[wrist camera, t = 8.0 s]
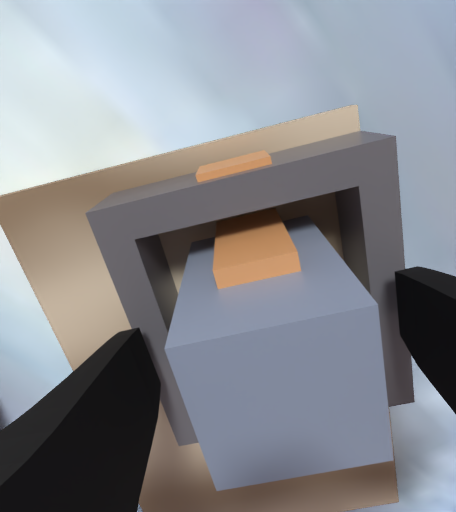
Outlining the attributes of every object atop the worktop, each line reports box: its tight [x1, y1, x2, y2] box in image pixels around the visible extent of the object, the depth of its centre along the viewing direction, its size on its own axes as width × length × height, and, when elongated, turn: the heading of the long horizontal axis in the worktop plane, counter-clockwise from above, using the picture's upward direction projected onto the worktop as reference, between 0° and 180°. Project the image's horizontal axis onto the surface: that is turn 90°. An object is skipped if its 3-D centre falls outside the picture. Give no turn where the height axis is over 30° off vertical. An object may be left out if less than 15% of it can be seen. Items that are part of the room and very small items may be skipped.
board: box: [0, 105, 399, 512], centre depth 15 cm, size 18×12×1 cm, turn 14°
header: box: [85, 131, 414, 446], centre depth 12 cm, size 9×8×2 cm
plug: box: [164, 208, 394, 491], centre depth 10 cm, size 4×4×6 cm
